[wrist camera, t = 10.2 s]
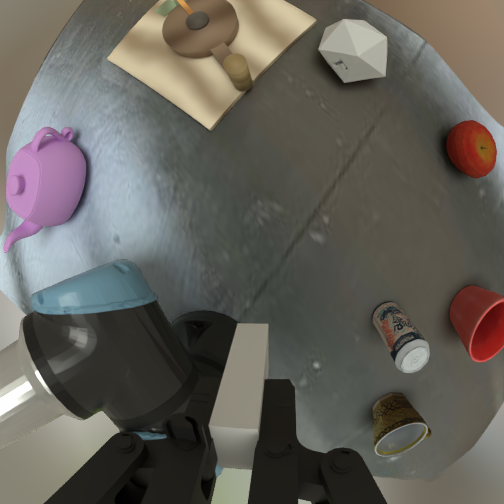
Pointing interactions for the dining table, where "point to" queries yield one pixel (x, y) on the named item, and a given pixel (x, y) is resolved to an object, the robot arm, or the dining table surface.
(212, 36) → the dial
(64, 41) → the dining table surface
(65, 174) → the teapot
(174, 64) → the board
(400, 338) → the beer can
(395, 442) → the ceramic cup
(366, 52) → the die
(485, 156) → the apple
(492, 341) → the flower pot
